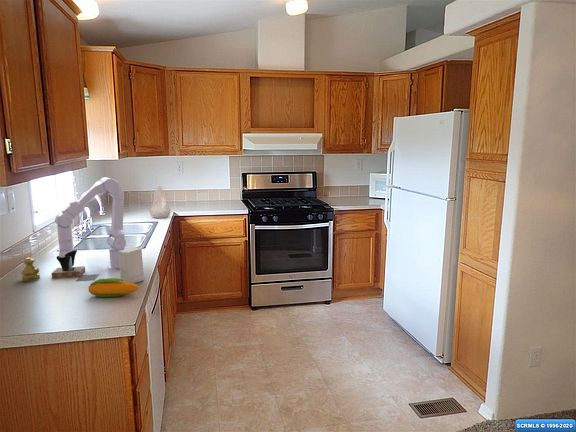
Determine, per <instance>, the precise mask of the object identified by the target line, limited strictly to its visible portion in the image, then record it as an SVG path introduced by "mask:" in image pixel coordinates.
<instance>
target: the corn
mask: <svg viewBox="0 0 576 432" xmlns="http://www.w3.org/2000/svg"><path fill="white" fill-rule="evenodd" d="M123 280H124V279H121V278H118V277H117V278H115V277H114V278H108V277H107V278H99V279H95V280H93V282H91V283H90V284H89V286H88V289H87V290H88V292H89V293H90V294H91V295H93V296H96V297H101V298H106V297H107V298H113V297H114V298H116V297H122V295H128V294H130V293H134V292H137V291H138V290H140V289H139V288H140V286H139V285H138V284H136V283H129V282H122V281H123Z"/></svg>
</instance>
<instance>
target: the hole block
mask: <svg viewBox="0 0 576 432" xmlns="http://www.w3.org/2000/svg"><path fill="white" fill-rule="evenodd" d="M72 269H73V271H63V269H62V267H57V268H56V269H54V270H53V271H52V272H51V279H71V278H73V279H74V278H79V277H81V276H82V275H85V273H86V266H72Z"/></svg>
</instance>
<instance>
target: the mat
mask: <svg viewBox="0 0 576 432" xmlns="http://www.w3.org/2000/svg"><path fill="white" fill-rule="evenodd" d="M99 276H100V273H94V274H93V273H92V274H83V275H82V276H81V277H77V279H76V280H75V282H87V281H88V282H89V281H91V282H92V281H96V280H97V278H98V277H99Z"/></svg>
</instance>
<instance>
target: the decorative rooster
mask: <svg viewBox="0 0 576 432" xmlns="http://www.w3.org/2000/svg"><path fill="white" fill-rule="evenodd" d="M170 214H171V207H170V205H168V203H167V196H166V192H165V191H164V190H163V188H162V186H161V185H158V186H157V187H156V189H155V190H154V191H153V200H152V204H151V207H150V208H149V215H150V216H151V217H153V218H154V219H155V218H156V219H166V218H168V217H169V216H170ZM165 217H166V218H165Z"/></svg>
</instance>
